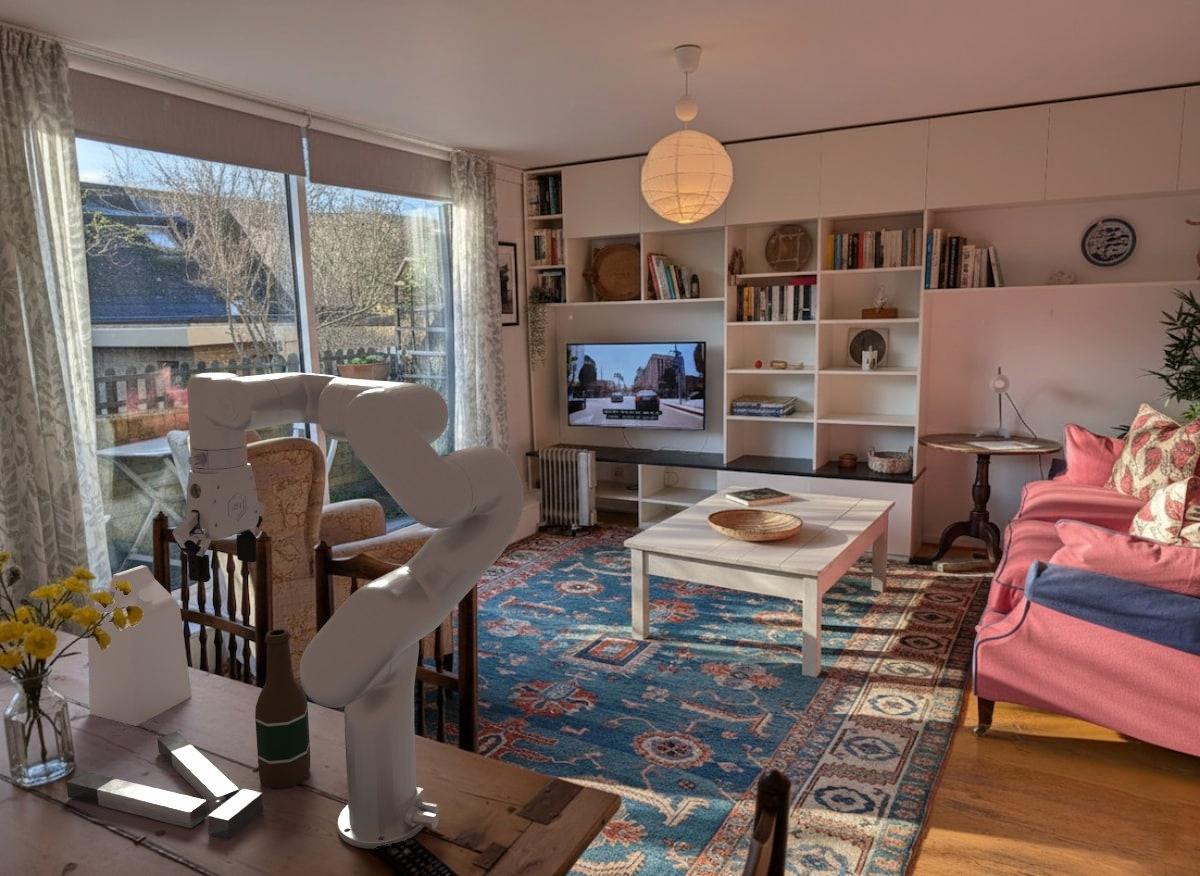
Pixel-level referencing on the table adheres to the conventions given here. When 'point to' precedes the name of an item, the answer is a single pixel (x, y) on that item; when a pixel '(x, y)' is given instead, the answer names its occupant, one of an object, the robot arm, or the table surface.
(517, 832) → the table surface
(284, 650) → the beer bottle
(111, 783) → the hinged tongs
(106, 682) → the milk
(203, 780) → the tongs arm
